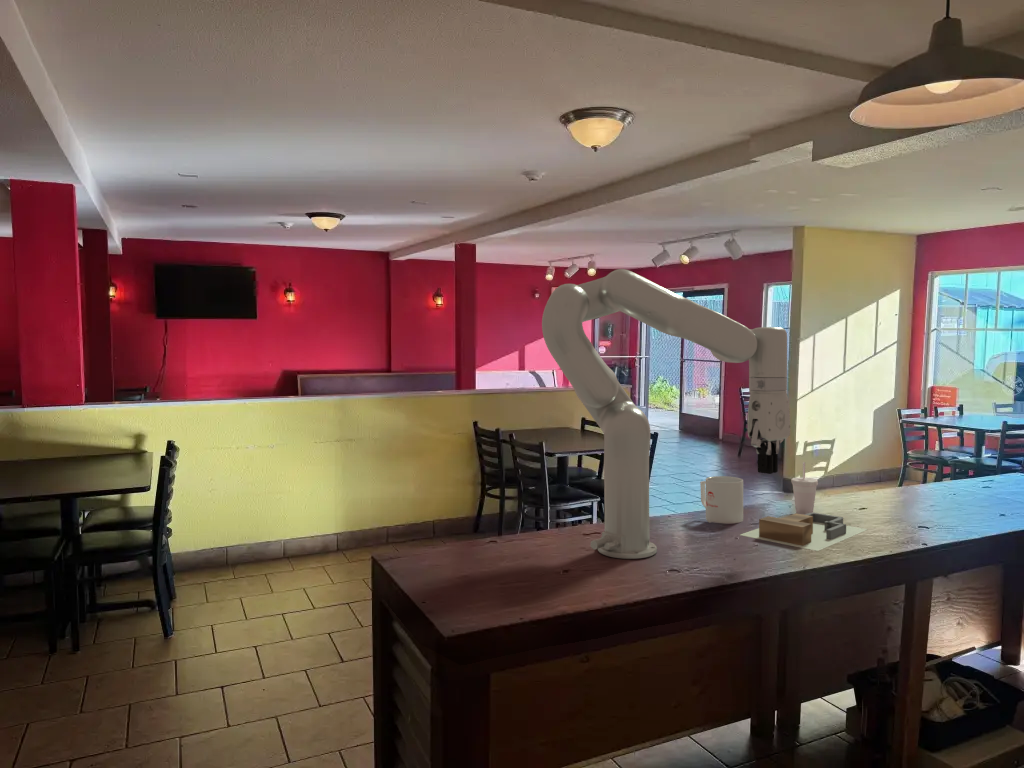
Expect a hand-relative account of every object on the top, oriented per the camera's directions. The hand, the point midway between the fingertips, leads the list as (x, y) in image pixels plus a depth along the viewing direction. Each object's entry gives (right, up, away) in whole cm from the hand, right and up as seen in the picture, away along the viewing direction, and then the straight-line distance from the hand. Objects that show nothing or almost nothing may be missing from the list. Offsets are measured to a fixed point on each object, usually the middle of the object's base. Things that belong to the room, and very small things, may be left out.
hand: (767, 472), depth 150 cm
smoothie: (+20, -16, +31) cm, 40 cm away
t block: (+8, -15, +8) cm, 19 cm away
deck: (+13, -16, +12) cm, 24 cm away
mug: (-2, -16, +26) cm, 31 cm away
